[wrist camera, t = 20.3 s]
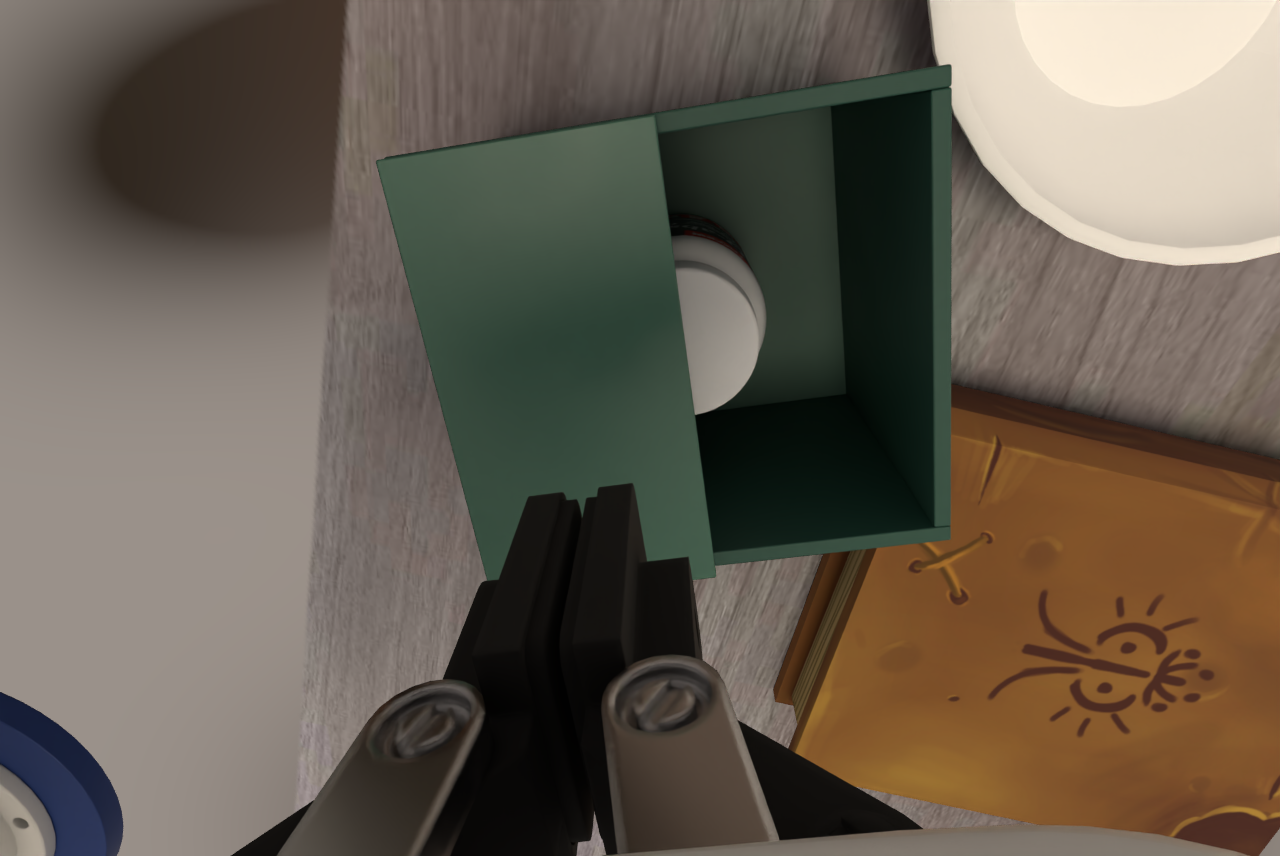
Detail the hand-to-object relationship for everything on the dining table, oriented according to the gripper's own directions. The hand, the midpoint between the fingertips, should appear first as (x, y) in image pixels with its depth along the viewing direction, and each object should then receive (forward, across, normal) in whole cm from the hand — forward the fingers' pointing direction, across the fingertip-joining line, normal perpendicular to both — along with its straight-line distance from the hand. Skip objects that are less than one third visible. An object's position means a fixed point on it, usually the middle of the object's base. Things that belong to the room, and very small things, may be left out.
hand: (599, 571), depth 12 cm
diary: (+22, -18, +18) cm, 34 cm away
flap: (+9, +2, 0) cm, 9 cm away
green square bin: (+22, -2, 0) cm, 22 cm away
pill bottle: (+22, -2, 0) cm, 22 cm away
